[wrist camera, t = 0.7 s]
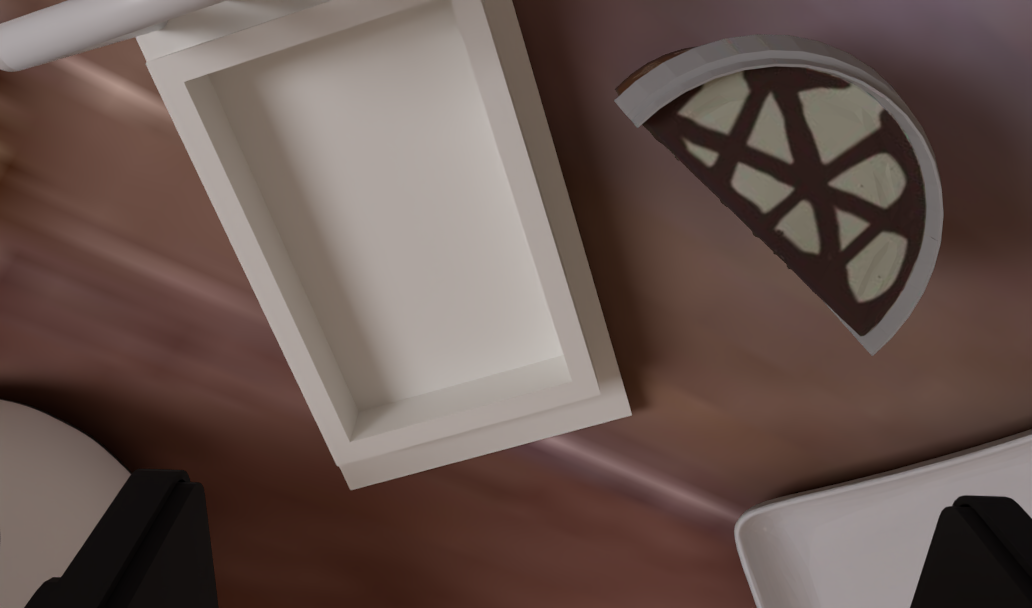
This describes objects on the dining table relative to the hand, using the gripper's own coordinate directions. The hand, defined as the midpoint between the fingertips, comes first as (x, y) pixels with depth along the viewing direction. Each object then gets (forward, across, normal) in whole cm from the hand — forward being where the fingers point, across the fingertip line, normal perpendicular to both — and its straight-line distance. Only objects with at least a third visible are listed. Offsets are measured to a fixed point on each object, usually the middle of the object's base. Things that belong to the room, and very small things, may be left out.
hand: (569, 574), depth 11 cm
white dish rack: (+26, +5, +4) cm, 27 cm away
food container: (+26, -9, -1) cm, 28 cm away
